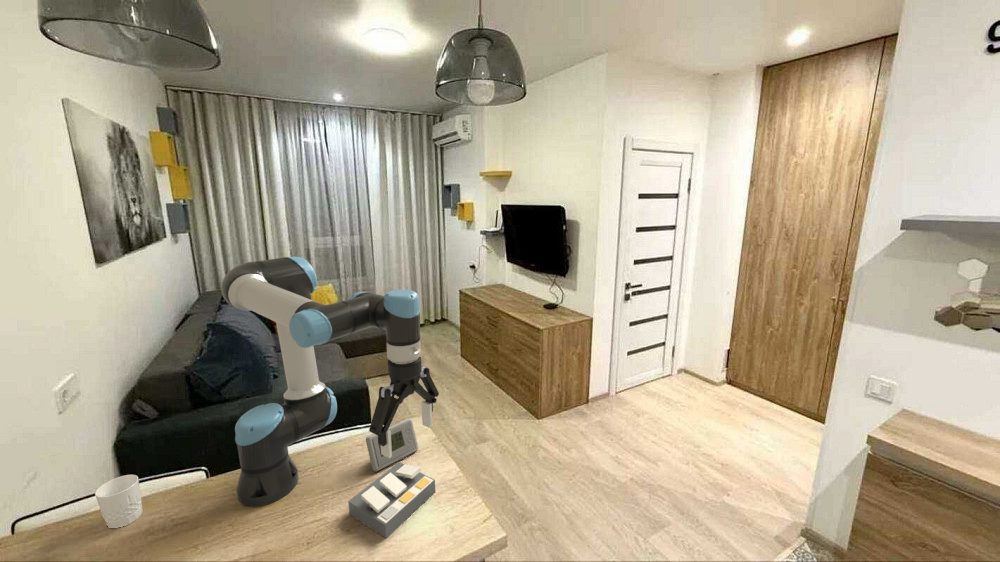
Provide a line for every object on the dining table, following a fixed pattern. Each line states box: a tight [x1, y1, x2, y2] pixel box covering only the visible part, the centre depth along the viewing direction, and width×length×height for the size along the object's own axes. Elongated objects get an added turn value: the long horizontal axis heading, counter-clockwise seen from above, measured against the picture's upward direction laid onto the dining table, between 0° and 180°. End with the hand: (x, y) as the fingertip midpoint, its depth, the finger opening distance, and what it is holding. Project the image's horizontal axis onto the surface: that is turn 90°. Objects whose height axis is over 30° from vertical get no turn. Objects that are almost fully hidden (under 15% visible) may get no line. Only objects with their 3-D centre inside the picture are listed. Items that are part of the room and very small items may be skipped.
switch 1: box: [361, 486, 390, 513], centre depth 100 cm, size 6×4×2 cm, turn 58°
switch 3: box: [396, 464, 422, 479], centre depth 110 cm, size 6×4×2 cm, turn 58°
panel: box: [347, 461, 436, 539], centre depth 105 cm, size 14×18×5 cm
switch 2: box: [379, 472, 407, 497], centre depth 105 cm, size 6×4×2 cm, turn 58°
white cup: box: [94, 474, 144, 529], centre depth 99 cm, size 8×8×10 cm
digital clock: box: [365, 417, 419, 472], centre depth 123 cm, size 16×9×11 cm, turn 123°
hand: (408, 439), depth 93 cm, fingers open, 13 cm apart
